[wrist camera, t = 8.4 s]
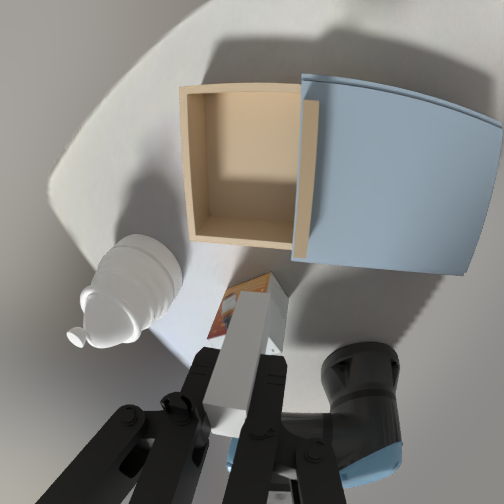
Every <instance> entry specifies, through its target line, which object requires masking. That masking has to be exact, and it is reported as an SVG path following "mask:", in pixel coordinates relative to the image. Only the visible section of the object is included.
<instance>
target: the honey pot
mask: <svg viewBox="0 0 504 504" xmlns="http://www.w3.org/2000/svg"><path fill="white" fill-rule="evenodd" d="M182 280H183V276H182V271H181V268H180V265H179V263H178V261H177V259H176V258H175V257H174V255H173V254H172V252H171V251H170V250H169V249H168V248H167V247H165V246H164V245H163V244H162V243H161V242H159V241H157V240H155V239H154V238H152V237H149V236H145V235H140V234H132V235H129V236H125V237H124V238H123V239H121V240H120V241H119V242H118V243H117V244H116V245H115V246H113V247H112V248H111V249H110V250H109V252H107V253H106V255H104V256H103V258H102V259H101V261H100V263H99V265H98V270H97V271H96V273H95V276H94V278H93V279H92V283H91V286H88V287H86V288H85V289H84V290H83V291H82V293H81V295H80V303H81V308H82V310H83V312H84V323H83V326H84V329H82V328H80V327H74V328H72V329H70V330H69V331H68V333H67V337H68V338H69V340H70V341H71V342H72V343H73V344H74V345H76V346H78V347H80V348H82V347H83V346H84V344H85V341H86V339H87V341H88V342H89V344H91V345H92V346H94V347H97V348H107V347H111V346H115V345H117V344H120V343H130V342H134V341H136V340H137V339H138V338H139V336H140V334H141V331H142V330H144V329H146V328H148V327H149V326H151V325H152V324H153V323H154V322H155V321H156V320H157V319H160V318H161V317H162V316H164V315H165V314H166V313H167V312H168V310H169V308H170V306H171V305H172V303H173V301H174V300H175V298H176V296H177V294H178V293H179V291H180V289H181V287H182ZM87 297H88V298H87Z"/></svg>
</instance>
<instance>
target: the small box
mask: <svg viewBox="0 0 504 504" xmlns="http://www.w3.org/2000/svg"><path fill="white" fill-rule="evenodd" d="M241 291H250V292H261V293H271V299H270V328H269V337H268V342H267V348H266V353H265V354H266V355H273V354H279V353H282V350H283V342H284V335H285V326H286V318H287V310H288V301H289V299H288V297H287V296H286V294H285V293H284V291H283V289H282V288H281V286H280V285H279V283H278V282H277V280H276V278H275V277H274V275H273V274H272V272H269V273H267V274H265V275H262V276H260V277H257V278H255V279H252V280H249V281H247V282H244V283H241V284H239V285H236V286H233V287H230V288H228V289H226V292H225V294H224V297H223V299H222V302H221V304H220V307H219V309H218V312H217V314H216V317H215V319H214V322H213V324H212V327H211V330H210V332H209V335H208V337H207V340H208V341H209V342H210V343H211V345H212V346H213V347H214V348H215V349H221V347H222V344H223V341H224V338H225V335H226V333H227V330H228V327H229V324H230V321H231V318H232V315H233V312H234V309H235V306H236V303H237V300H238V297H239V294H240V292H241Z"/></svg>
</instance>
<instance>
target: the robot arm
mask: <svg viewBox="0 0 504 504" xmlns="http://www.w3.org/2000/svg"><path fill="white" fill-rule="evenodd" d="M270 299H271V293H261V292H250V291H241V292H240V294H239V297H238V300H237V303H236V306H235V309H234V312H233V315H232V318H231V321H230V324H229V327H228V330H227V333H226V335H225V338H224V341H223V344H222V347H221V349H215V348H208V347H203V348H202V349H201V350H200V351H199V352H198V353H197V354H196V355H195V358H194V360H193V363H192V366H191V368H190V370H189V373H188V375H187V377H186V380H185V382H184V384H183V387H182V389H181V392H173V393H170V394H168V395H166V396H165V397H163V399H162V400H161V401H160V404H161V405H162V407H163V409H164V410H161V411H143V410H142V409H140V408H139V407H138V406H135V405H124V406H121V407H120V408H119V409H118V410H117V411H116V412H115V413H114V414H113V415H112V416H111V417H110V419H109V420H108V421H107V422H106V423H105V424H104V425H103V427H102V428H101V429H100V430H99V431H98V433H97V434H96V435H95V436H94V437H93V438H92V439H91V440H90V442H89V443H88V444H87V445H86V446H85V447H84V448H83V450H82V451H81V452H80V453H79V454H78V455H77V457H76V458H75V459H74V460H73V461H72V462H71V463H70V464H69V466H68V467H67V468H66V469H65V470H64V471H63V472H62V474H61V475H60V476H59V477H58V478H57V479H56V480H55V482H54V483H53V484H52V485H51V486H50V487H49V489H48V490H47V491H46V492H45V493H44V494H43V495H42V496H41V498H40V499H39V500H38V501H37V502H36V503H35V504H121V502H122V501H123V499H124V498H125V497H126V496H127V495H128V493H129V492H130V491H131V490H132V488H133V487H134V486H135V484H136V483H137V484H136V487H135V489H134V492H133V494H132V497H131V500H130V502H129V504H191V503H192V500H193V497H194V493H195V490H196V487H197V484H198V480H199V477H200V474H201V470H202V467H203V463H204V460H205V457H206V453H207V450H208V447H209V439H208V437H209V434H210V431H212V433H214V434H218V435H224V436H229V437H232V440H231V444H230V447H229V451H228V456H227V470H228V472H230V475H229V479H228V483H227V487H226V491H225V495H224V498H223V502H222V504H346V499H345V495H344V490H343V488H350V487H355V486H360V485H364V484H368V483H372V482H375V481H377V480H380V479H383V478H385V477H387V476H389V475H391V474H393V473H394V472H395V471H396V470H398V468H399V467H400V465H401V463H402V445H403V443H402V441H401V431H400V423H399V416H398V409H397V402H396V395H395V393H396V388H397V383H398V377H399V371H400V364H399V359H398V355H397V353H396V352H395V350H394V349H392V348H391V347H389V346H387V345H385V344H381V343H373V342H366V343H358V344H353V345H350V346H347V347H344V348H342V349H340V350H338V351H336V352H334V353H333V354H331V355H330V356H329V357H328V358H327V359H326V360H325V361H324V363H323V365H322V368H321V382H322V385H323V388H324V390H325V393H326V395H327V398H328V400H329V403H330V413H287V412H282V406H283V398H284V390H285V382H286V374H287V364H286V361H285V359H284V356H276V355H266V354H265V353H266V348H267V342H268V337H269V328H270Z"/></svg>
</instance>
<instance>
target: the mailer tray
mask: <svg viewBox="0 0 504 504" xmlns="http://www.w3.org/2000/svg"><path fill="white" fill-rule="evenodd" d="M179 100H180V127H181V146H182V162H183V176H184V188H185V200H186V210H187V221H188V230H189V239H190V241H195V242H207V243H219V244H230V245H241V246H253V247H264V248H275V249H286V250H292V242H293V230H294V218H295V204H296V190H297V174H298V156H299V136H300V111H301V84H288V83H223V84H206V85H194V86H184V87H179Z"/></svg>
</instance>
